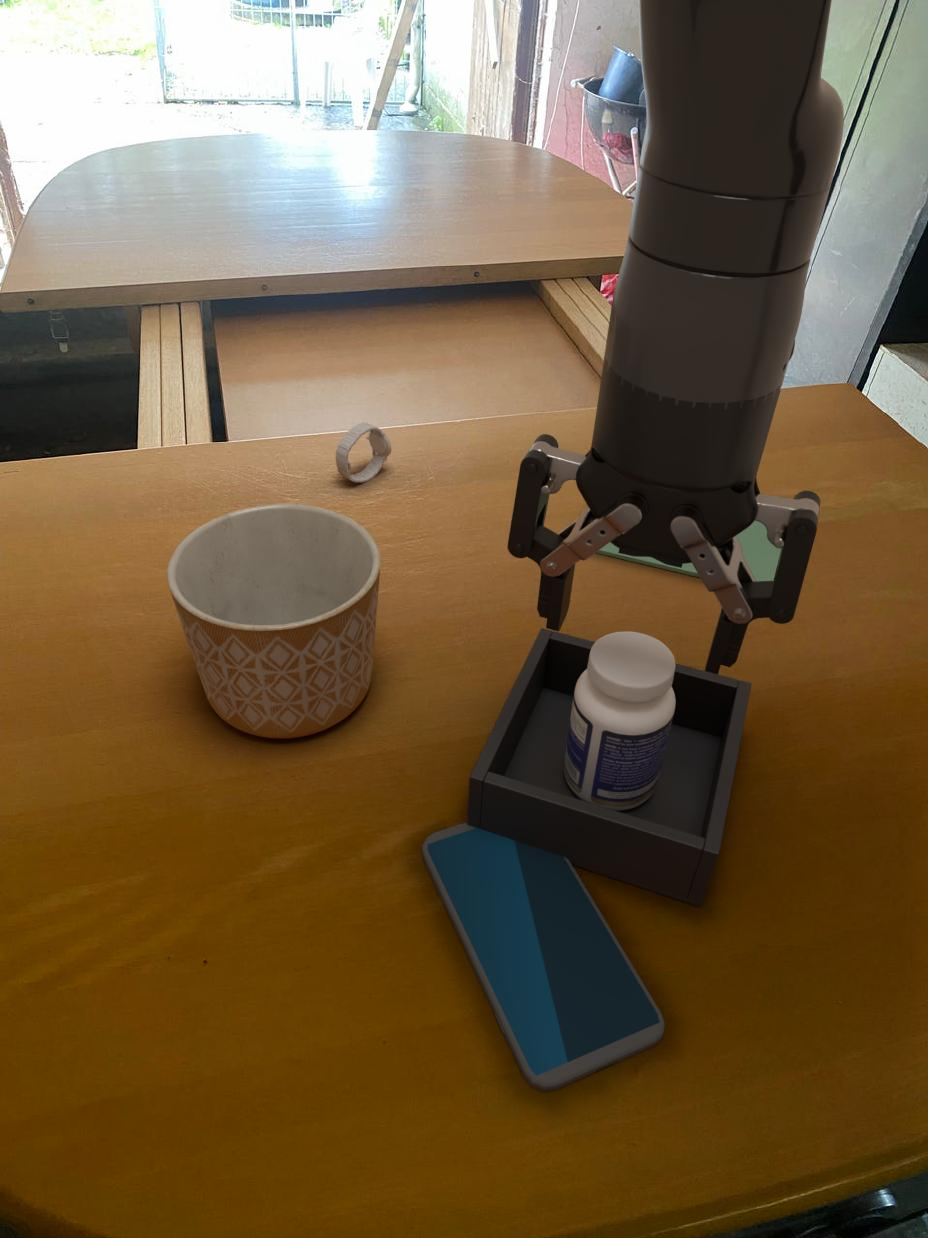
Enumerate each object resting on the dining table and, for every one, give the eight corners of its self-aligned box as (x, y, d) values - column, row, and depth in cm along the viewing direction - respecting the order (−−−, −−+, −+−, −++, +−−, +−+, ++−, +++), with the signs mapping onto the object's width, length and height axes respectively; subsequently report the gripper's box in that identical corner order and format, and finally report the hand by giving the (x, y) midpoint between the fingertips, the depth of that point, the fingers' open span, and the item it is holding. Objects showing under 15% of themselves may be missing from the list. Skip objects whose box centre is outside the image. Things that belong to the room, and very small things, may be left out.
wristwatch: (393, 472, 83) (392, 423, 80) (353, 494, 80) (350, 443, 77) (371, 461, 85) (369, 412, 82) (330, 482, 82) (327, 431, 79)
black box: (734, 735, 60) (752, 682, 57) (700, 907, 50) (718, 854, 47) (535, 680, 63) (541, 627, 60) (466, 830, 53) (469, 776, 50)
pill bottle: (671, 769, 57) (703, 650, 51) (630, 830, 53) (658, 710, 47) (589, 729, 59) (610, 610, 53) (544, 785, 56) (561, 665, 49)
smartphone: (533, 809, 55) (535, 799, 55) (672, 1041, 45) (675, 1032, 44) (415, 848, 53) (415, 838, 52) (532, 1103, 42) (534, 1094, 42)
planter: (227, 783, 55) (201, 655, 49) (172, 656, 64) (143, 532, 57) (416, 715, 60) (415, 590, 54) (341, 605, 69) (333, 485, 62)
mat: (793, 517, 80) (794, 513, 80) (779, 596, 71) (780, 592, 71) (613, 478, 84) (614, 474, 84) (579, 549, 75) (580, 545, 75)
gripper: (506, 358, 38) (485, 650, 48) (868, 428, 34) (760, 727, 45) (557, 295, 43) (528, 571, 54) (873, 351, 40) (776, 633, 50)
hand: (634, 641), depth 49 cm, fingers open, 8 cm apart
